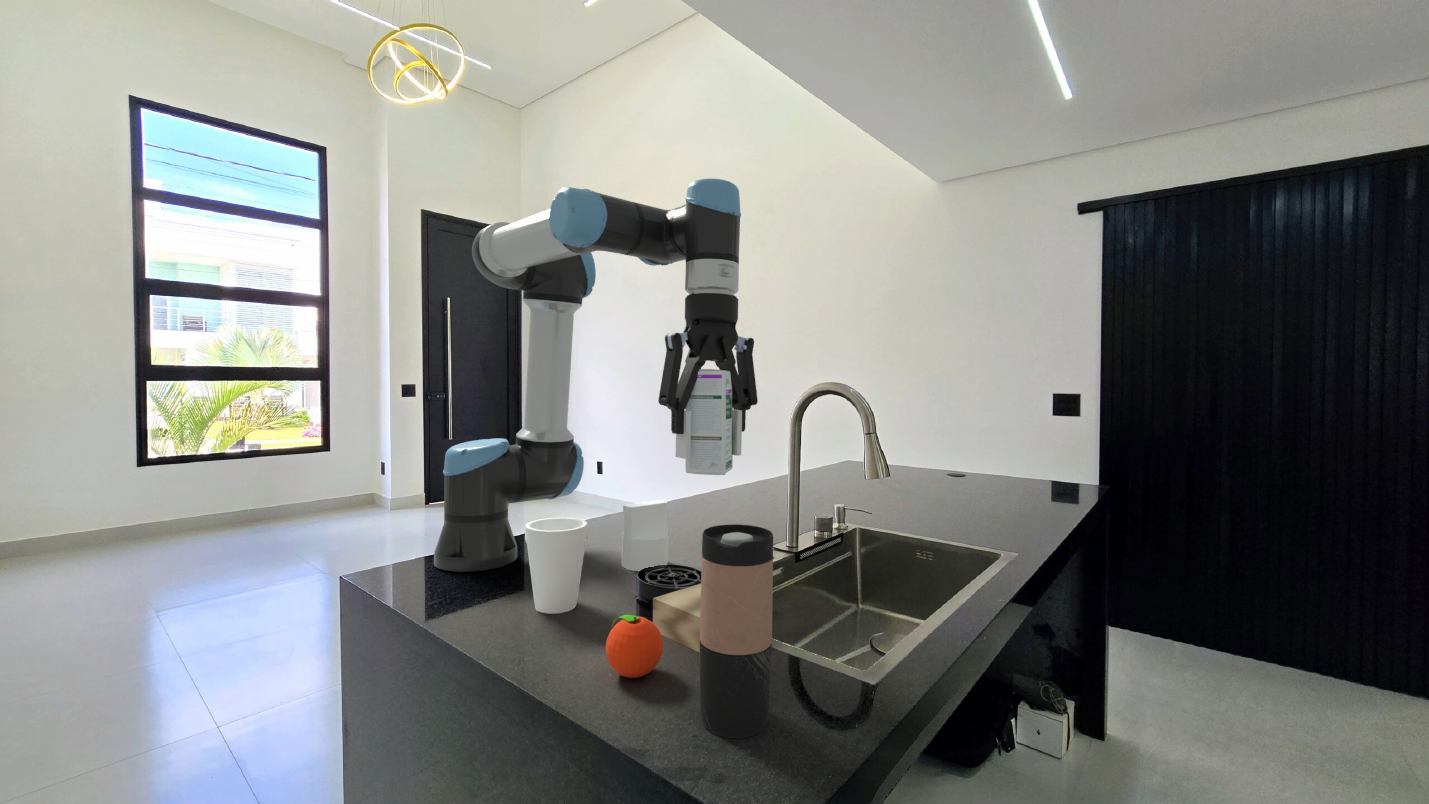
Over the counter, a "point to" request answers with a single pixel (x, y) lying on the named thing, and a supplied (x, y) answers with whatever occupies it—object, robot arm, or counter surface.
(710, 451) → the syrup box
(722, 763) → the counter surface
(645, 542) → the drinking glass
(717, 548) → the travel mug
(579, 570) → the foam cup
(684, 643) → the oak block
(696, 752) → the counter surface
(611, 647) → the clementine
